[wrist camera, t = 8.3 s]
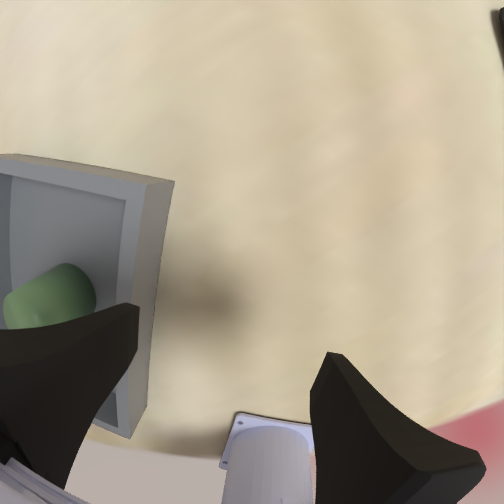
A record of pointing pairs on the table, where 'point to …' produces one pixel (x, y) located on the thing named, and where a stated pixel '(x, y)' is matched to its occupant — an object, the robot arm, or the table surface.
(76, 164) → the bin
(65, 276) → the green rounded tapered piece
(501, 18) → the sushi plate
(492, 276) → the table surface
